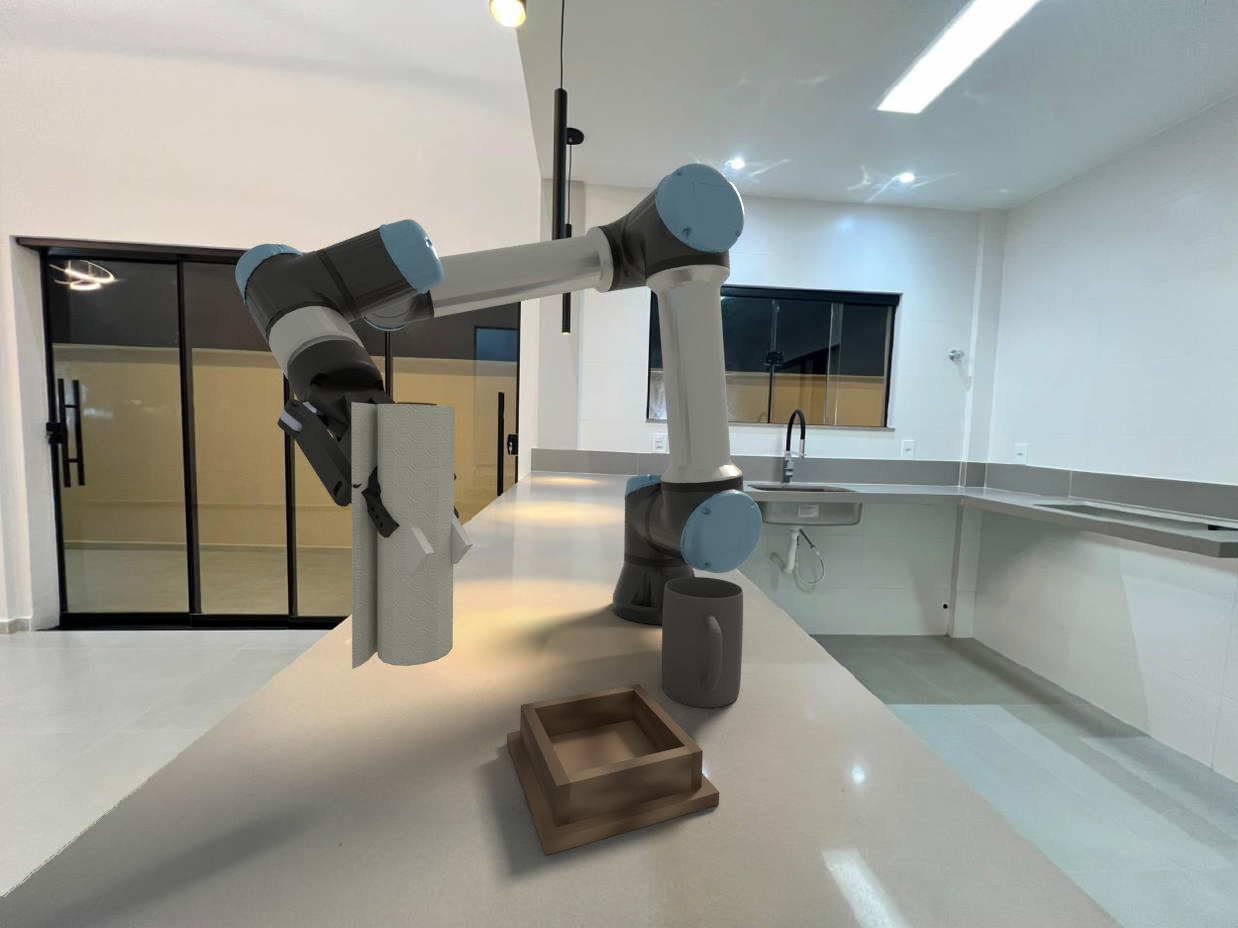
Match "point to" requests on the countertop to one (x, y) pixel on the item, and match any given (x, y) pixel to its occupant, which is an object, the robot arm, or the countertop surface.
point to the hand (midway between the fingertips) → (442, 558)
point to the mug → (702, 641)
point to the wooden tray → (605, 766)
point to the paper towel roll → (402, 532)
